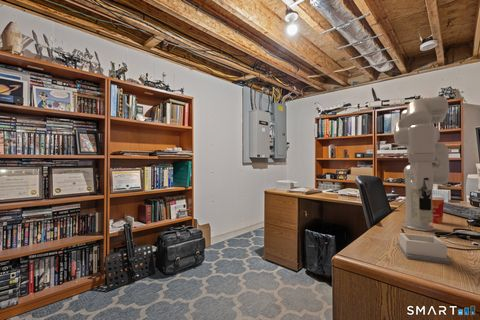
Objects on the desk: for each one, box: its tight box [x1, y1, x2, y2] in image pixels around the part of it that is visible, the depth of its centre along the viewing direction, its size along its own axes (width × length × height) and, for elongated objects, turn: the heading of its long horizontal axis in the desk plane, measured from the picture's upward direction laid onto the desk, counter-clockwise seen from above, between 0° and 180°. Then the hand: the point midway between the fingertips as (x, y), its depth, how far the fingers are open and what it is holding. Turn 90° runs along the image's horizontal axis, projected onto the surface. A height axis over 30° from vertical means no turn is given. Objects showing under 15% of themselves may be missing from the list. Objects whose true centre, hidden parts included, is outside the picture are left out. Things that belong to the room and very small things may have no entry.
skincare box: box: [410, 188, 434, 224], centre depth 84 cm, size 6×4×12 cm
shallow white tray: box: [396, 232, 452, 265], centre depth 85 cm, size 14×12×6 cm
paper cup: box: [432, 194, 446, 225], centre depth 126 cm, size 8×8×14 cm
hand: (421, 207), depth 84 cm, fingers closed on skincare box, 6 cm apart
